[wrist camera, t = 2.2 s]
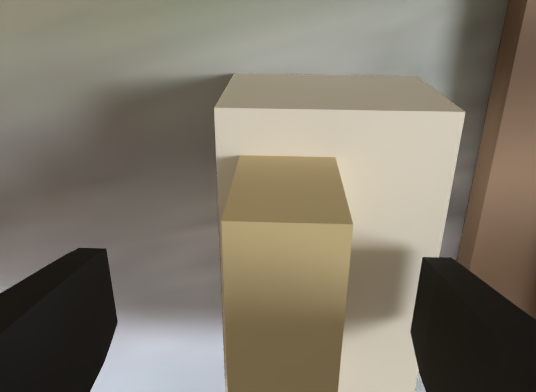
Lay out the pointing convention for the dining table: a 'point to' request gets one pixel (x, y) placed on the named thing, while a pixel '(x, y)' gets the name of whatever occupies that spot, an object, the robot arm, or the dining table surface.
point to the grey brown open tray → (507, 170)
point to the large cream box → (328, 226)
